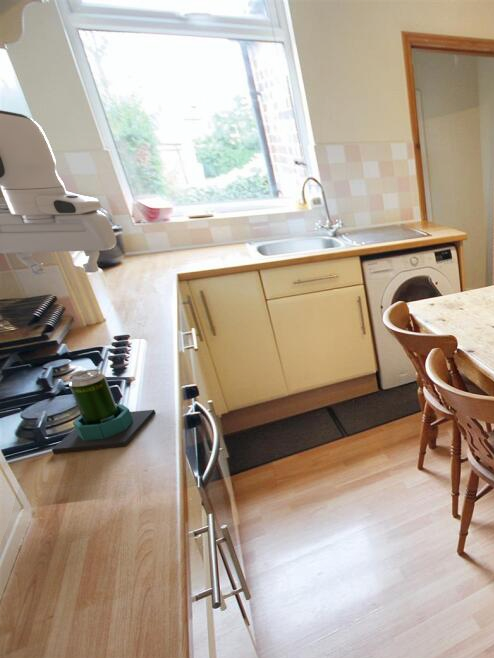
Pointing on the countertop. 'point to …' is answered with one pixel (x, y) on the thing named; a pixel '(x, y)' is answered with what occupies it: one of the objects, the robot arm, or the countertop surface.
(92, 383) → the beer can
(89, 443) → the can pad
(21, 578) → the countertop surface
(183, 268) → the countertop surface
